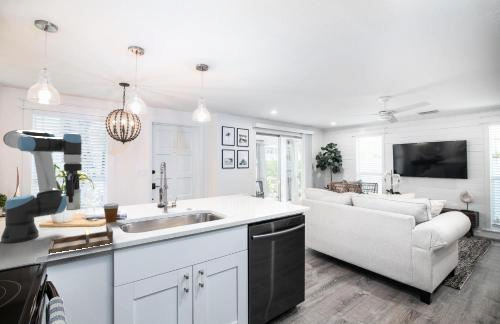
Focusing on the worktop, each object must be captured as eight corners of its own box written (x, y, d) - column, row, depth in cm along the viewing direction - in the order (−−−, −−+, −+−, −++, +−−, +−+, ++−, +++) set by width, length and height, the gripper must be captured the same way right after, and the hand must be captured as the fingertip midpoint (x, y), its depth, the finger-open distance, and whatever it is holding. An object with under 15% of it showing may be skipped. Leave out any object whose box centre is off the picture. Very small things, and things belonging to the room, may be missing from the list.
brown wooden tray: (48, 255, 112) (48, 240, 112) (51, 244, 126) (51, 231, 125) (112, 244, 127) (112, 231, 127) (109, 235, 141) (109, 223, 140)
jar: (78, 209, 125) (78, 190, 125) (63, 210, 123) (63, 191, 123) (82, 207, 131) (82, 189, 131) (68, 208, 129) (68, 189, 129)
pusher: (86, 245, 121) (86, 234, 121) (85, 237, 133) (85, 227, 132) (88, 245, 122) (88, 234, 122) (88, 237, 133) (88, 227, 133)
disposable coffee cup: (101, 223, 164) (101, 206, 164) (105, 220, 174) (105, 203, 173) (116, 223, 167) (116, 205, 167) (120, 219, 176) (120, 203, 176)
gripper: (75, 163, 119) (76, 210, 120) (86, 162, 137) (86, 203, 137) (57, 163, 116) (57, 211, 117) (70, 162, 134) (70, 204, 134)
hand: (73, 207), depth 127 cm, fingers closed on jar, 6 cm apart
